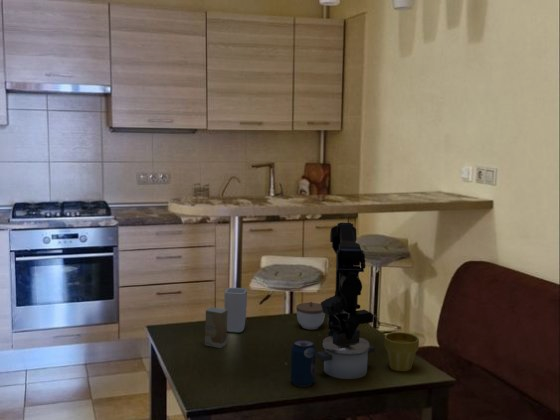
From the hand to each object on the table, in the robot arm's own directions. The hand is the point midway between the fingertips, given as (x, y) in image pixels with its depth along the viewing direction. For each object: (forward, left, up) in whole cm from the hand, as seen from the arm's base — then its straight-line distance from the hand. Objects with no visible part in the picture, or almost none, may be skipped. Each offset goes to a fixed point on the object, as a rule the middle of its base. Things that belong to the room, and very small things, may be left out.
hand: (346, 338), depth 196 cm
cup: (+15, -48, -11) cm, 51 cm away
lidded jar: (-12, -41, -11) cm, 44 cm away
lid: (0, 0, -3) cm, 3 cm away
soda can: (+16, +3, -11) cm, 20 cm away
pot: (0, 0, -10) cm, 10 cm away
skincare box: (+27, -37, -11) cm, 47 cm away
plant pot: (-17, +5, -11) cm, 21 cm away
